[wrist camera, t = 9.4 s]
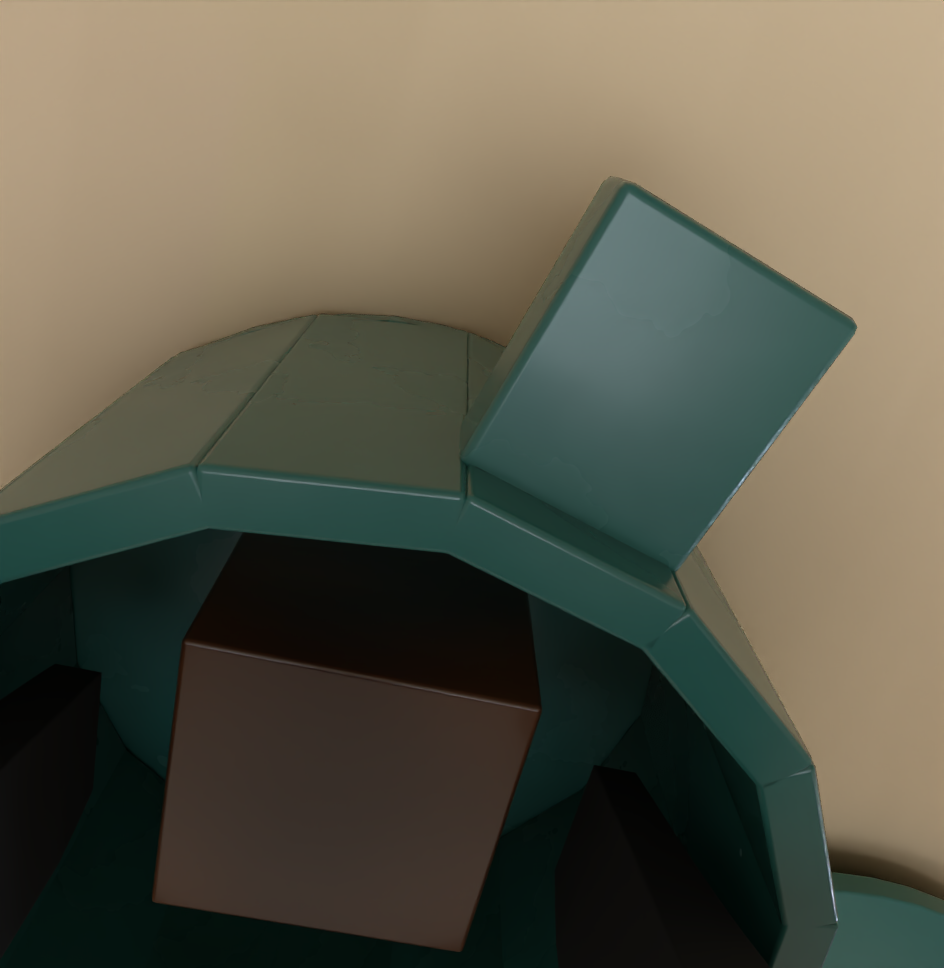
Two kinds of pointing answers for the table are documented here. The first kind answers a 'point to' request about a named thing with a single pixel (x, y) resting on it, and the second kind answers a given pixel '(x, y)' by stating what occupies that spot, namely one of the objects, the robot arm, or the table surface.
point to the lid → (885, 925)
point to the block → (346, 740)
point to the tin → (470, 538)
